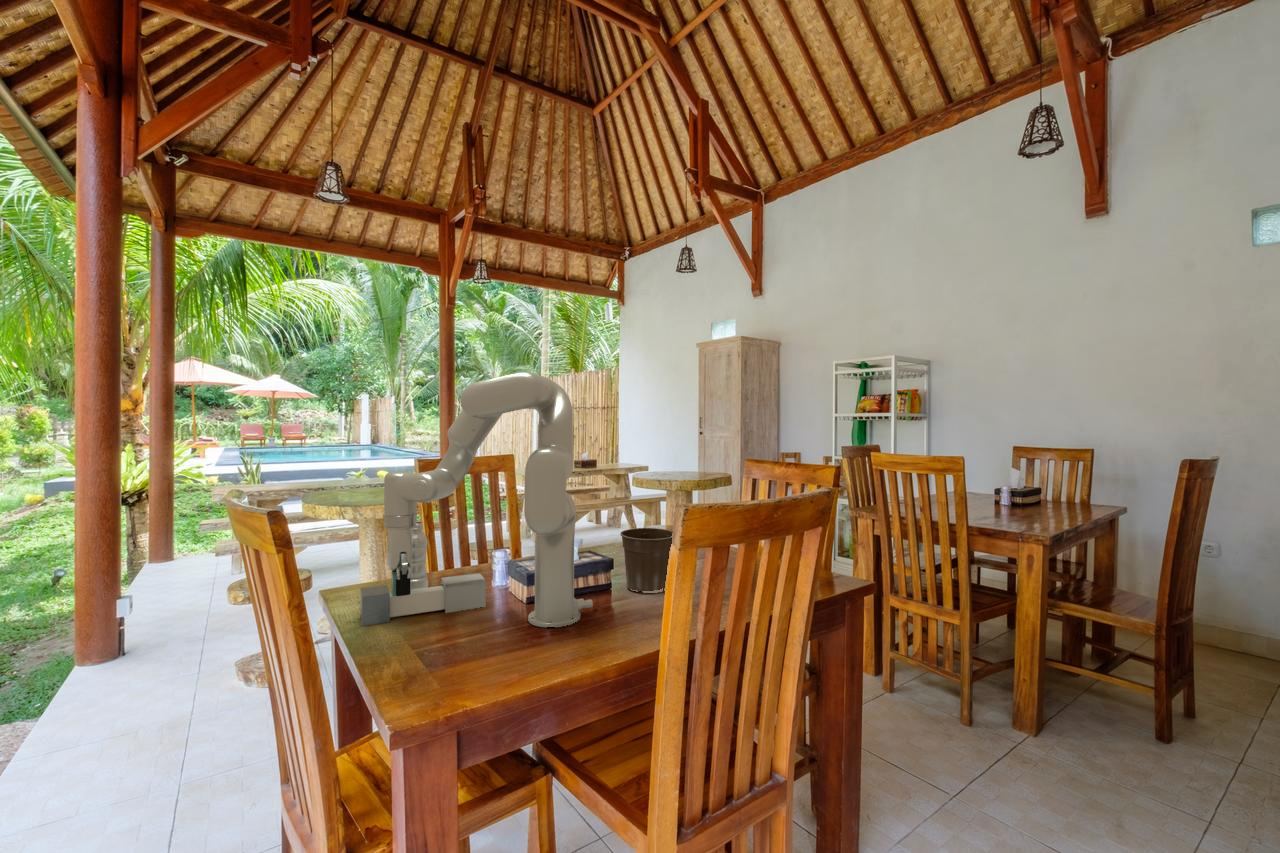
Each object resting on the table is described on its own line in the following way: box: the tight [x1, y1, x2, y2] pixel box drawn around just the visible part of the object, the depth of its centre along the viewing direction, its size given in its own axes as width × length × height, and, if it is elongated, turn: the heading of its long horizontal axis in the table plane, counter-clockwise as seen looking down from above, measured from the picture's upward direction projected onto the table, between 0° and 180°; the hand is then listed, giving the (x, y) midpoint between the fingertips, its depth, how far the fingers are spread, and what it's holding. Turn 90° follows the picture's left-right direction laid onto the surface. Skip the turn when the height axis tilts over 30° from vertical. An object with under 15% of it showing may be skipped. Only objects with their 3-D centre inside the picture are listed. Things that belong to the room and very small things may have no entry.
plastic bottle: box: [409, 521, 429, 590], centre depth 160 cm, size 6×7×20 cm
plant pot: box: [619, 527, 674, 593], centre depth 166 cm, size 16×16×16 cm
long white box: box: [389, 571, 445, 618], centre depth 143 cm, size 20×4×10 cm, turn 118°
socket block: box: [359, 584, 391, 627], centre depth 140 cm, size 6×8×7 cm
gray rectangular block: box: [440, 572, 487, 614], centre depth 150 cm, size 10×7×7 cm
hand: (400, 590), depth 142 cm, fingers open, 9 cm apart
